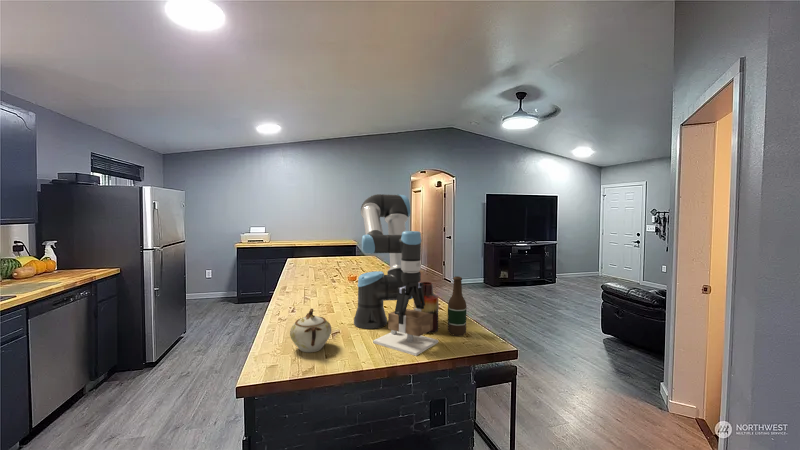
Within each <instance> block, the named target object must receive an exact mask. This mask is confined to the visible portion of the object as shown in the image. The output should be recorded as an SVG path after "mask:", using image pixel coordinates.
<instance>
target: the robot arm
mask: <svg viewBox="0 0 800 450" xmlns="http://www.w3.org/2000/svg"><path fill="white" fill-rule="evenodd" d="M360 215H361V217H362V218H363V224H364V232H365V234H363V235H362V236H361V252H362V253H364V254H370V255H373V254H389V265H390V266H389V267H390V268H389V269H388V270H387V272H386V273H387V274H385V273H384V272H383V271H381V270H379V271H377V270H376V271H369V272H368V271H367V272H364V273H362V274H360V275H359V276H358V279H357V292H358V293H357V309H356V312H355V315H354V318H353V325H354V326H355V327H356V328H361V329H368V330H369V329H370V330H371V329H372V330H375V329H380V328H383V327H385V326H386V325H388V317H387V315H386V310H385V307H384V301H396V304H395V309H394V311H395V314H397V315H398V316H399V332H402V333H406V315H405V312H406V309H408V305H409V302H410V301H411V300H413V304H414V303H415V305H416V308H415V311H420V312H422V309H424V306H425V301H424V294H423V283H421V282H422V281H421V277H422V276H421V275H422V273H421V270H422V269H421V266H422V263H421V259H422V235H421V234H422V233H421V232H420V231H418V230H417V231H416V230H406V223H407V221H408V218H410V216H411V204H410V199H409V197H408V196H407V195H406V194H398V193H397V194H385V193H384V194H373V195H370V196H368V197H367V198H366V199H364V201H363V202H362V204H361V206H360ZM381 218H384V222H386V224H387V231H388V234H384V231H383V227H382V221H381ZM421 302H422V303H421Z"/></svg>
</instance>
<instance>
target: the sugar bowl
mask: <svg viewBox="0 0 800 450" xmlns="http://www.w3.org/2000/svg"><path fill="white" fill-rule="evenodd" d="M331 334H332V325H331V323H330V322H329V321H328V320H327V319H326V318H325V317H323V316H318V315H314V308H310V309H309V312H308V313H306V315H305V316H304V317H302V318H301V317H300V318H298V319H297V320H295V322H294V323H293V324H292V325H291V327H290V330H289V337H290V339H291V340H292V342H293V343H294V345H295V346H296V347H297V348H298V350H299V351H300V352H302V353H303V352H304V353H316V352H319V351H320V350H322V349H323V348H324V346H325V345H326V343H327V341H328V340H329V338H330V336H331Z"/></svg>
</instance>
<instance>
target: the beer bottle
mask: <svg viewBox="0 0 800 450" xmlns="http://www.w3.org/2000/svg"><path fill="white" fill-rule="evenodd" d="M452 279H453V286H452V295H451V296H450V298H449V300H448V301H447V302H448V303H447V333H448V334H449V335H451V336H455V337H463V336H464V335H466V333H467V309H468V308H467V302H466V300H465V298H464V296H463V286H462V285H463V284H462V280H463V278H462V277H461V276H459V275H458V276H454V277H453V278H452Z"/></svg>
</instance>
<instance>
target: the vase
mask: <svg viewBox="0 0 800 450" xmlns="http://www.w3.org/2000/svg"><path fill="white" fill-rule="evenodd" d="M420 283H423V294H424V301H425V306H424V309H422V312H425V313H430V314H433V330H431V331H429V332H427V333H426V334H434V333H437V332H438V331H439V296H438V295H437V294H435V293H434V284H433V282H430V281H420ZM421 303H422V302H421ZM415 308H416V305H415V303H414V302H413V310H415Z"/></svg>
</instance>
